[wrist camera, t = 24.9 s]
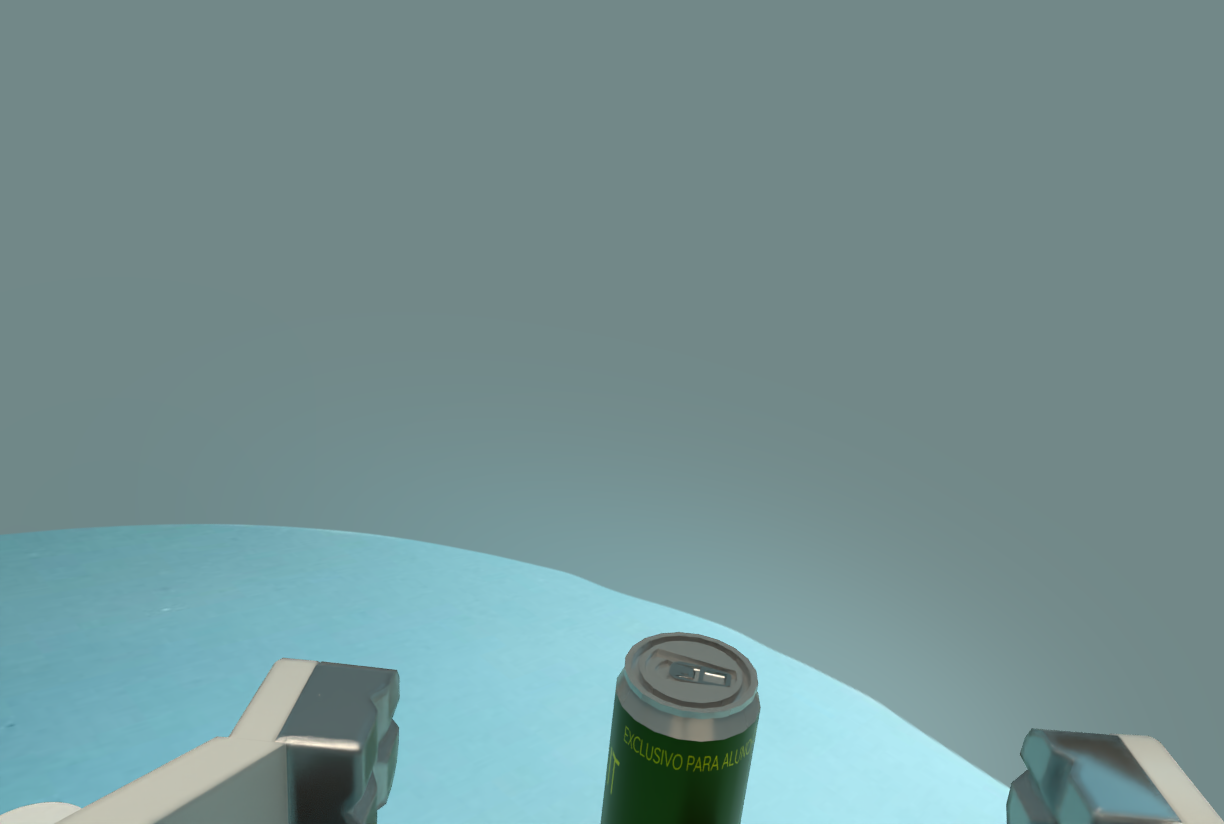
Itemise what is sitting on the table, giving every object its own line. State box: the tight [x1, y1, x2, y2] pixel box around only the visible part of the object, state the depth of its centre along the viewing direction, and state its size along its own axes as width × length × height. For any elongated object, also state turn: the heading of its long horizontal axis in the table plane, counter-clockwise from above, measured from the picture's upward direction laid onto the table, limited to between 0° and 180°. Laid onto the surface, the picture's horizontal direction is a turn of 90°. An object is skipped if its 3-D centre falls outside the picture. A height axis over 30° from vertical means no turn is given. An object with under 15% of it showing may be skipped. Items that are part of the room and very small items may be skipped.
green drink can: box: [601, 632, 760, 824], centre depth 37 cm, size 5×5×12 cm
